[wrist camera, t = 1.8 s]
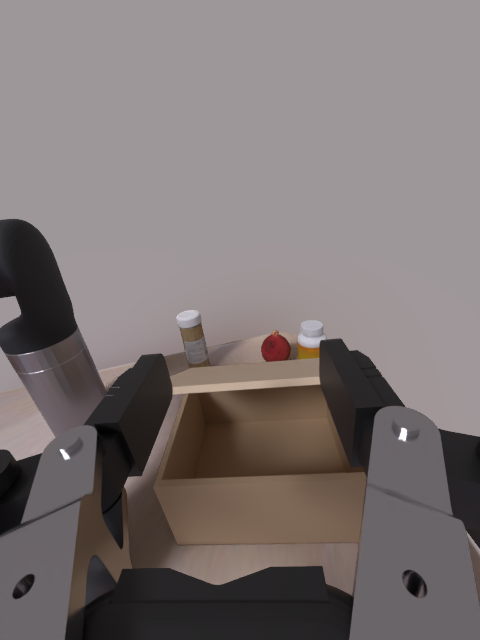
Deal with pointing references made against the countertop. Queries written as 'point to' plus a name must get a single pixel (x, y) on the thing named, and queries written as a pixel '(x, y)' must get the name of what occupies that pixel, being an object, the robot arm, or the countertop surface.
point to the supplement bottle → (310, 339)
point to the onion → (275, 348)
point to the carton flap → (247, 376)
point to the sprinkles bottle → (193, 338)
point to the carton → (259, 470)
